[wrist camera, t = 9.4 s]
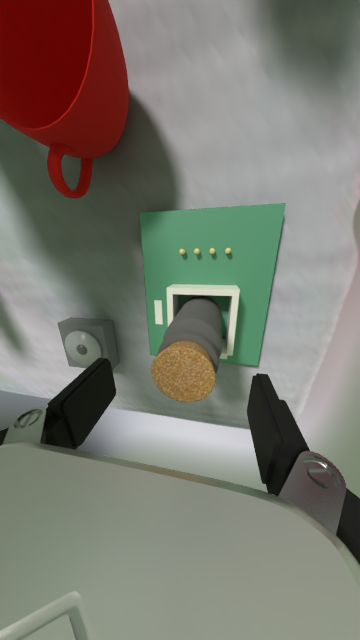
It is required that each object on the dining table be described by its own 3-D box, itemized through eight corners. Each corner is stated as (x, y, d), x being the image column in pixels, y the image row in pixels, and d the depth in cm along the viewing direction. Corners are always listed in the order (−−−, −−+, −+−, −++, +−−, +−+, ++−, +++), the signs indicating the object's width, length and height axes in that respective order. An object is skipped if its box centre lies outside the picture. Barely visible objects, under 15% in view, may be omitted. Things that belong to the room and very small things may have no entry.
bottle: (228, 313, 25) (243, 380, 11) (202, 338, 27) (187, 420, 13) (199, 286, 25) (175, 322, 11) (174, 314, 27) (129, 374, 13)
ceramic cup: (69, 212, 26) (-10, 186, 17) (46, 48, 20) (-95, -127, 11) (149, 214, 24) (107, 187, 15) (149, 32, 18) (80, -200, 9)
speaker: (70, 317, 33) (53, 324, 30) (112, 320, 31) (99, 328, 28) (80, 357, 36) (65, 368, 33) (119, 362, 34) (108, 374, 31)
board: (143, 215, 24) (122, 202, 19) (281, 206, 21) (304, 188, 15) (153, 350, 32) (139, 369, 26) (255, 360, 28) (265, 385, 23)
